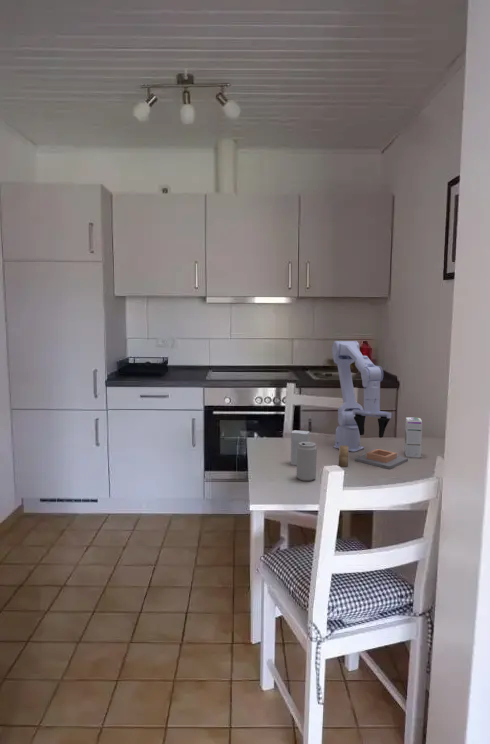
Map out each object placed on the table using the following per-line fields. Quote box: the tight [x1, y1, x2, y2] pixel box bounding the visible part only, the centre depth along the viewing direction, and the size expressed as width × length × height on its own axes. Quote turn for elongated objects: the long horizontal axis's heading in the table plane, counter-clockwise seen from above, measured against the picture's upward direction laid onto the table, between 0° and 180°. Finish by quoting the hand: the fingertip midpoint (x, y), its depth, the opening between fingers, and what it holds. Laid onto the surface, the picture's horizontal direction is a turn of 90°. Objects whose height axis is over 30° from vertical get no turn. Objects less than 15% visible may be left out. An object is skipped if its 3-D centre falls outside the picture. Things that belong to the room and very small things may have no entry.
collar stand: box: [354, 448, 409, 470], centre depth 191 cm, size 14×14×3 cm
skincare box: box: [290, 429, 311, 466], centre depth 185 cm, size 6×4×12 cm
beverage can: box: [296, 441, 318, 482], centre depth 169 cm, size 6×6×12 cm
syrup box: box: [403, 416, 423, 459], centre depth 197 cm, size 6×6×14 cm
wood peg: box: [338, 445, 349, 468], centre depth 184 cm, size 3×3×7 cm
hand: (371, 436), depth 188 cm, fingers open, 7 cm apart
